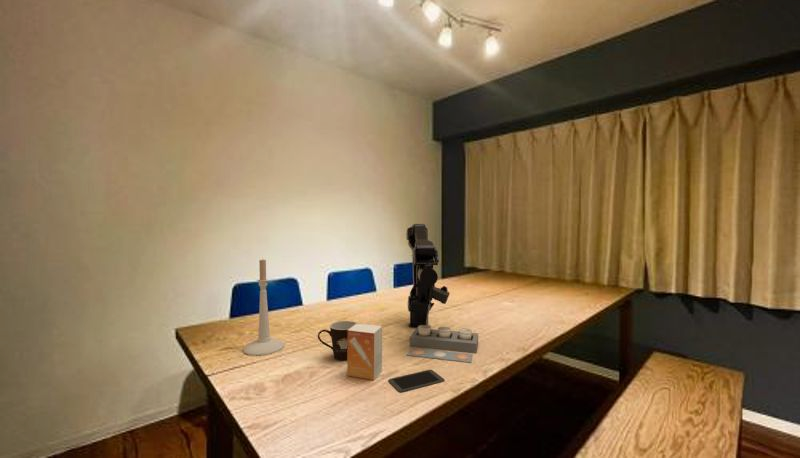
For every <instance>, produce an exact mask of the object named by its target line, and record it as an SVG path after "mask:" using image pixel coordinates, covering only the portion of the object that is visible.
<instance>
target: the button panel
mask: <svg viewBox="0 0 800 458" xmlns="http://www.w3.org/2000/svg"><path fill="white" fill-rule="evenodd" d="M478 345H479V333H476V332H472V333H471V340H461V339H459V331H457V330H456V331H455V330H451V332H450V338H440V337H439V331H438V329H432V328H431V329H430V336H420V335H419V329H418V327H415V329H414V330H413V332H412V333H411V334H410V336H409V346H410V347H414V348H423V349H433V350H442V351H451V352H461V353H470V354H473V353H474V354H477V350H478Z"/></svg>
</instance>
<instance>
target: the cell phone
mask: <svg viewBox="0 0 800 458" xmlns="http://www.w3.org/2000/svg"><path fill="white" fill-rule="evenodd" d="M387 381H388V384H390V385H391V387H392V388H393V389H395V390H396V391H397V392H398V393H400V394H401V393H406V392H407V393H408V392H410V391H414V390H418V389H421V388H425V387H428V386H432V385H437V384H441V383H444V382H445V378H443V377H442V376H441V375H439V374H438V373H437V372H436V371H434V370H433V369H426V370H425V369H424V370H422V371H418V372H413V373H408V374H405V375H400V376H396V377H392V378H389V379H388V380H387Z"/></svg>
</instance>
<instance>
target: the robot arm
mask: <svg viewBox="0 0 800 458" xmlns="http://www.w3.org/2000/svg"><path fill="white" fill-rule="evenodd" d="M428 232H429V231H428V227H426V224H424V223H413V224H412V225H411V226H410V227H407V228H406V240H407V243H408V247H409V248H410V250H411V252H412V258H411V259H412V260H411V261H412V281H413V282H412V283H413V286H412V288H411V289H410V291H409V295H408V297H407V311H408V312H409V325H408V327H411V328H418V326H420V325H429V315H430V314H429V313H430V312H431V310H432V308H433V307H434V305H435V302H432V301H433V300H434V301H437V302H440V303H441V304H443V305H446V304H447V301H448V300H449V297H450V291H448V287H447V286H445V285H443V286H441V287H437V286H436V283H437V282H438V278H439V277H438V273H437V271H436V270H435V269H434V266H438V264H439V261H440V260H439V251H438V250H437V247H436V246H435V245H434V243H433V241H431V240H429V233H428Z"/></svg>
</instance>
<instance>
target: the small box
mask: <svg viewBox="0 0 800 458" xmlns="http://www.w3.org/2000/svg"><path fill="white" fill-rule="evenodd" d="M346 362H347V364H346V365H347V371H346V372H347V375H346V376H348V377H353V378H360V379H365V380H372V381H375V380H376V379H377V377H378V376H379V375H380V374H381V373H382V371H383V326H382V325H374V324H368V323H367V324H365V323H363V324H362V323H357V324H355V325H354V326H352V327H351V328H350V329H348V353H347V361H346Z"/></svg>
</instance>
